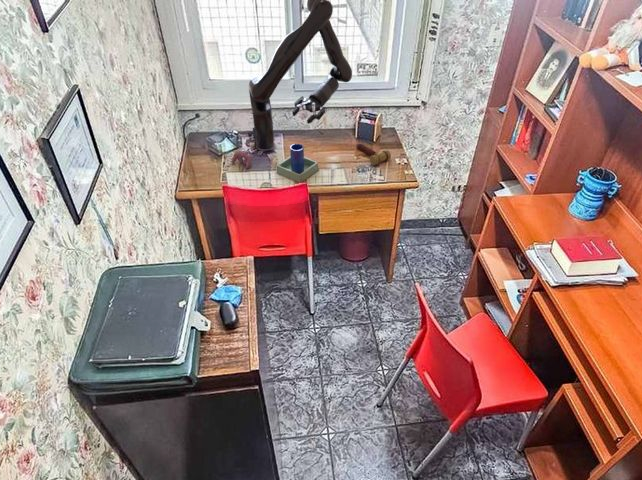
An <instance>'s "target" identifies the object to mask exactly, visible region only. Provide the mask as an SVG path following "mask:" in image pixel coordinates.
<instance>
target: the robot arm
mask: <svg viewBox="0 0 642 480" xmlns="http://www.w3.org/2000/svg"><path fill="white" fill-rule="evenodd" d="M306 7H307V11H308V15H307V17H306V19H304V21H303V23H302V24H301V25H300V26H299V27H297V28H296V29H294V30H293V31H291V32H289V33H288V34H287V35H286V36H285V37H284V38H283V39H282V40H281V42H280V44H279V45H278V46H277V48H276V49H275V52H274V54H273V55H272V58H271V62H270V64H269V65H268V69H267V70H266V72H265V73H264V74H263V75H255V76H253V77H252V78H251V79H250V80H249V83H248V92H249V100H250V106H251V111H252V113H251V114H252V120H253V127H252V132H247V134H248V135H249V136H250V137H252V136H253V137H252V138H253V143H254V147H255V148H256V149H257V150H258V151H261V152H269V151H272V150H274V149H275V146H276V145H275V141H276V140H275V135H274V123H273V122H274V119H273V108H272V104H271V103H272V102H271V97H272V95H273V94H274V92H275V91H276V89H277V87H278V85H279V84H280V82H281V81H282V79H283V78H284V77H285V75H286V74H287V73H288V72H289V70H290V69H291V68H292V67H293V66H294V64H295V63H296V62H297V60H298V59H299V57H300V56H301V55H302V53H303V52H304V50H305V49H306V48H307V46H309V44H310V43H311V42H312V40H313V39H314V37H315V36H316V35H317V34H318V33H319V35H320V38H321V41H322V44H323V48H324V50H325V54H326V55H327V58H328V62H329V64H331V65H332V67H330V70H329V71H328V74H327V76H326V78H325V79H324V80H323V81H322V82H321V83H320V84H319V85H318V86H317V87H316V88H315V89H313V91H312V92H311V93H310V95H309V96H308V98H305V97H304V96H303V95H302V96H300V97H299V98H297V100H296V101H295V102H294V109H293V110H292V116H293V117H295V116H297V114H298V113H299V112H300V111H307V112H309V113H312V114H311V115H310V116H309V117H308V118H307V120H306V123H307V125H308V124H312V123H313V121H314V120H318V121H320V120H321V119H322V117H323V116H324V114H326V107H325V104H327V103H328V101H329V100H330V99H331V98H332V96H333V95H334V94H335V93H336V92H337V90H338V89H339V87H340V84H339V82H342V83H349V82H350V81H351V80H352V77H353V70H352V67H351V64H350V63H349V62H348V59H346V57H345V55H344V53H343V50H342V47H341V43H340V41H339V38H338V37H337V35H336V33H335V31H334V28H333V26H332V23H331V18H332V15H333V13H334V7H333V4H332V3H331V1H330V0H306Z"/></svg>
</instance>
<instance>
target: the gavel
mask: <svg viewBox="0 0 642 480" xmlns="http://www.w3.org/2000/svg"><path fill="white" fill-rule="evenodd" d="M355 146H356V147H357V148H358V149H359V150H360V151H362V152H364V153H366V154H368V155H369V162H370V164H371V165H372V166H376V165H378V164H379V163H382V162H385V161H388V160H390V159H391V158H392V154H391V152H390V151H389V149H386V150H383V151H382V152H380V153H378V152H377V151H376V150H373V149H371V148H370V147H368V146H366V145H364V144H362V143H355Z"/></svg>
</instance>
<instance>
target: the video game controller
mask: <svg viewBox="0 0 642 480" xmlns="http://www.w3.org/2000/svg"><path fill="white" fill-rule="evenodd" d="M233 153H234V154H233V156H232V158H231V165H234V164H235V163H237V162H238V163H240V164H242V163H243V164H244V165H245V168H246V169H249V168H250V167H251V165H252V162H253V160H254V156H253V154H250V153H249V152H248V151H246V150H237V151H235V152H233Z"/></svg>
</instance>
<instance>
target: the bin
mask: <svg viewBox="0 0 642 480" xmlns="http://www.w3.org/2000/svg"><path fill="white" fill-rule="evenodd" d="M275 167H276V173H277V174H278V175H280V176H283V177H285V178H288V179H290V180H292V181H295V182H297V183H299V184H302V183H303V182H304V181H305V180H307V179H309V177H311V176H312V175H314V174H315V173H316V172H318V171H319V162H318V161H315V160H313V159H310V158H308V157H306V156H304V172H302V173H301V174H298V173H295V172H293V171H291V155H289V156H288V157H286V158H285V159H283V160H282V161H281V162H279V163H277V165H276V166H275Z"/></svg>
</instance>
